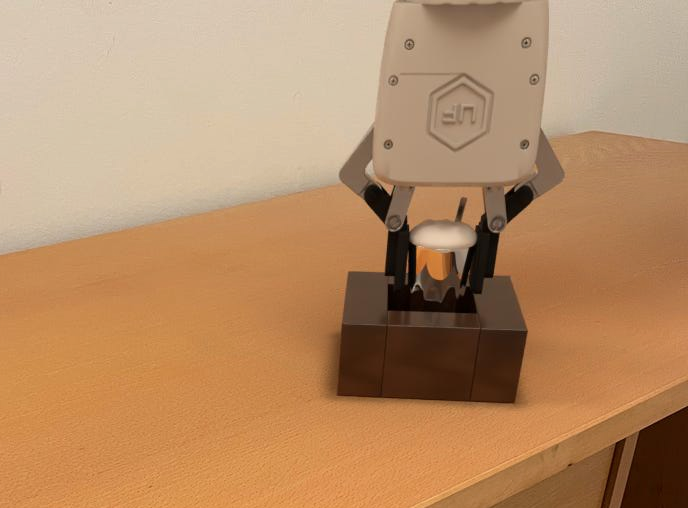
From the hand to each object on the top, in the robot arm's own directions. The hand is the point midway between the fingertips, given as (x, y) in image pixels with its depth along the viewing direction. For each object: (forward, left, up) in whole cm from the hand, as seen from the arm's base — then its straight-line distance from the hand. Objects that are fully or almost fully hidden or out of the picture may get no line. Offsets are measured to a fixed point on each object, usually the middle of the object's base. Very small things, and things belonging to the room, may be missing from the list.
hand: (437, 284), depth 68 cm
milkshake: (0, 0, -5) cm, 5 cm away
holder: (0, 0, -6) cm, 6 cm away
